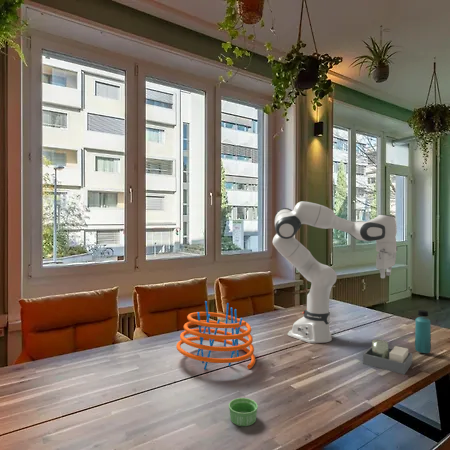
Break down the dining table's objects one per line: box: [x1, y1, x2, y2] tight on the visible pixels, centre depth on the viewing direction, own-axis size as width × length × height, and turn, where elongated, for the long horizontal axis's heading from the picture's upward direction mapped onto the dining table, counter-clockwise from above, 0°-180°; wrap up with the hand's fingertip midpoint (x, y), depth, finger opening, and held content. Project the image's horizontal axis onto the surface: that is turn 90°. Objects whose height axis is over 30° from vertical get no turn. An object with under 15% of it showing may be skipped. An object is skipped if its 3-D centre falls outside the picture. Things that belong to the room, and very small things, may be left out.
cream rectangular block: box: [389, 345, 409, 363], centre depth 145 cm, size 5×10×6 cm, turn 141°
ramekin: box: [228, 397, 259, 427], centre depth 108 cm, size 9×9×4 cm
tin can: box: [371, 338, 389, 359], centre depth 149 cm, size 6×6×8 cm
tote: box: [362, 345, 413, 375], centre depth 148 cm, size 16×14×5 cm
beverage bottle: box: [414, 309, 432, 354], centre depth 161 cm, size 6×7×20 cm
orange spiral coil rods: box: [176, 300, 256, 370], centre depth 152 cm, size 34×35×24 cm
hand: (385, 276), depth 168 cm, fingers open, 8 cm apart
